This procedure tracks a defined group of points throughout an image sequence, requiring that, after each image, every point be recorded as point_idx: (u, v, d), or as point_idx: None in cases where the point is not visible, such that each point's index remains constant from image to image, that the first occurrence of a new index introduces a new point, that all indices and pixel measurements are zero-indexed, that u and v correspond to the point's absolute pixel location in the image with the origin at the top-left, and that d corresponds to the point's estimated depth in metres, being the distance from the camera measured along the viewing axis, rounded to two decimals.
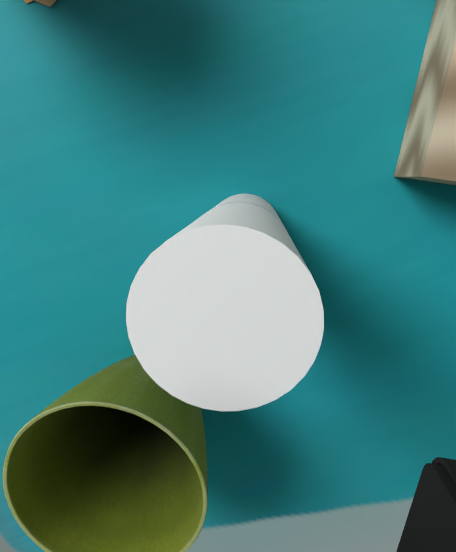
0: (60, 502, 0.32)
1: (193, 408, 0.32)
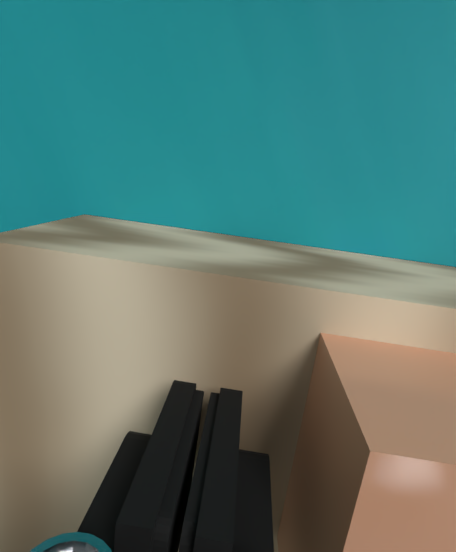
0: None
1: None
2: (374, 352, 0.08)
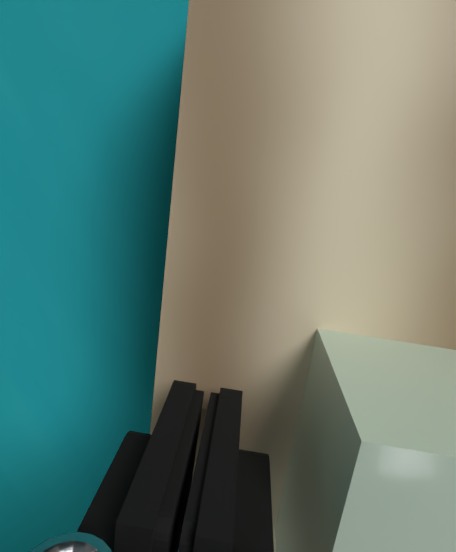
0: None
1: None
2: None
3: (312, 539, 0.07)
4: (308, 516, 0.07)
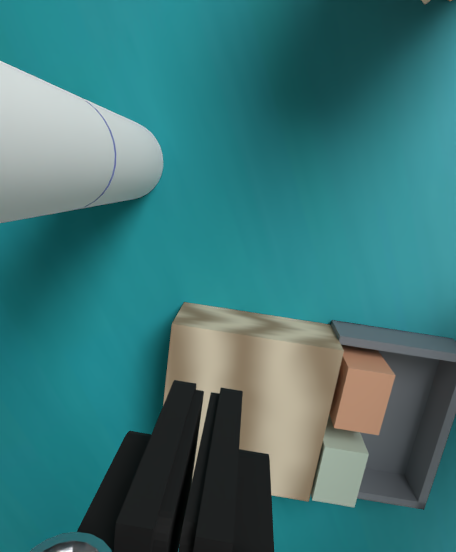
0: None
1: None
2: (353, 363, 0.34)
3: (351, 477, 0.36)
4: (346, 477, 0.36)
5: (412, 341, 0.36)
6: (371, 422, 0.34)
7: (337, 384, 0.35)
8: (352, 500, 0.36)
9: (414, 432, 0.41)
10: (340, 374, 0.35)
